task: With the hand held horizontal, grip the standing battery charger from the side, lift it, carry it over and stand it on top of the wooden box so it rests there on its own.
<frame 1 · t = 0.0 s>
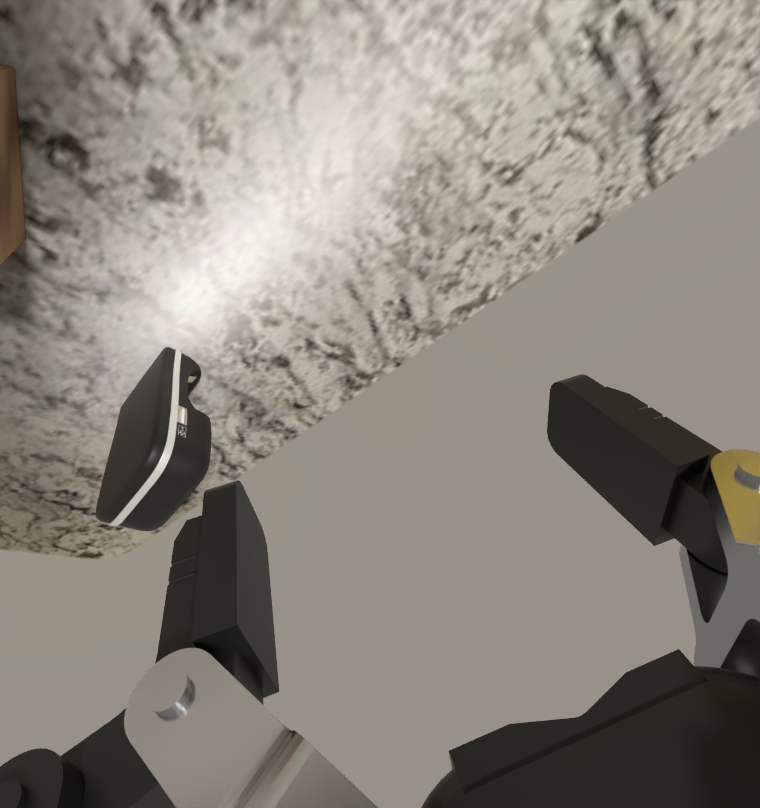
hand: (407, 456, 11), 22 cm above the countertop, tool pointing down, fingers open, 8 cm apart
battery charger: (168, 385, 32), on the countertop
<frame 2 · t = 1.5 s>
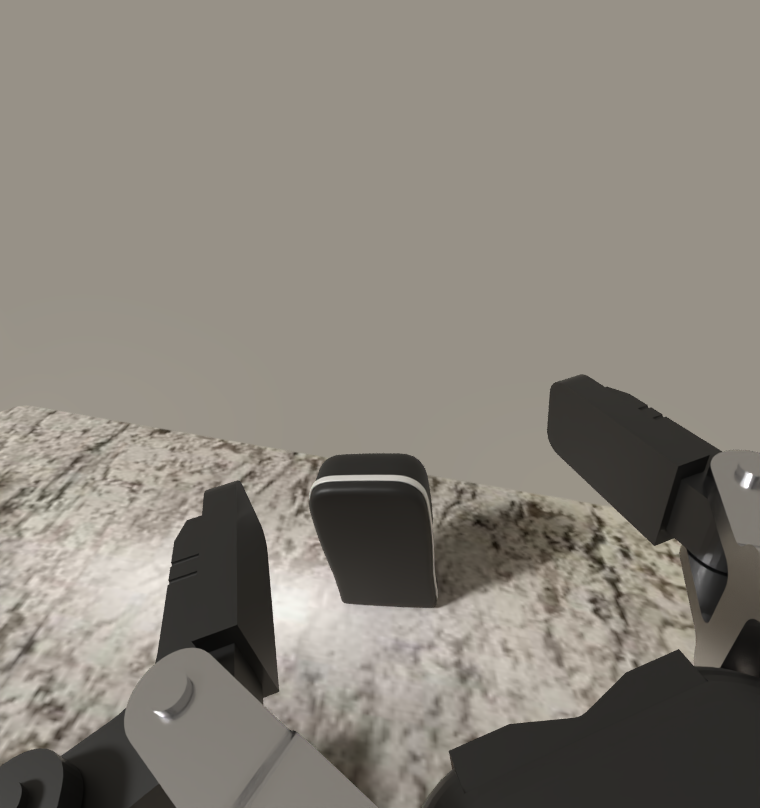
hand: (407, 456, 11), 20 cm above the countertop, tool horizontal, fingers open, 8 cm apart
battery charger: (391, 584, 31), on the countertop
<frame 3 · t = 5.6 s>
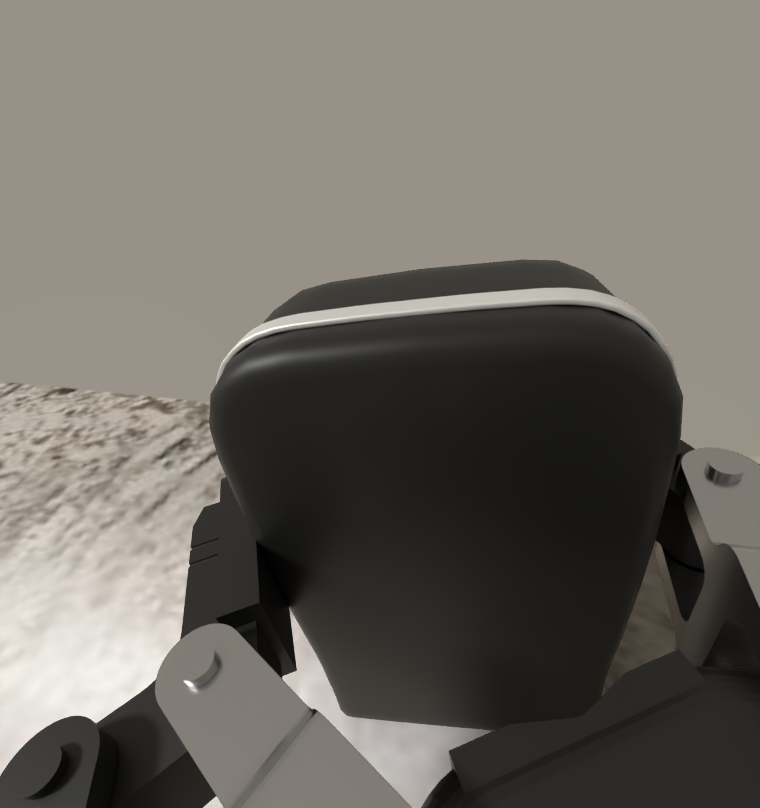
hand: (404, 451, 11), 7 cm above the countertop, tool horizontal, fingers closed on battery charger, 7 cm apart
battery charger: (460, 660, 13), on the countertop, touching gripper
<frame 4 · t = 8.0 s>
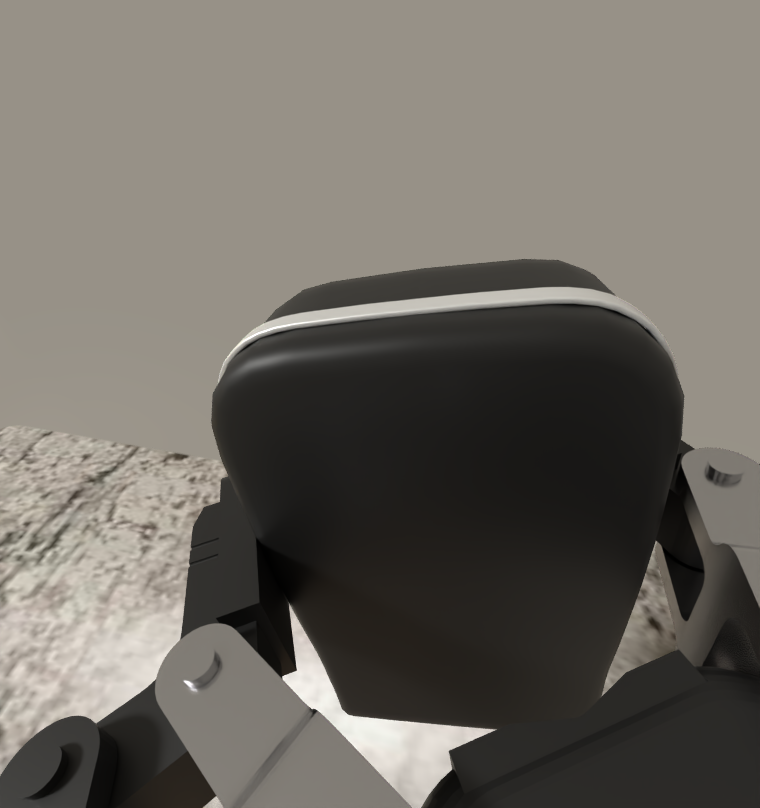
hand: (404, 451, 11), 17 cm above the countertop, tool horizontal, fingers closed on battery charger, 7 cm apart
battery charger: (460, 660, 13), point 11 cm above the countertop, touching gripper
when the fingers open (12 cm above the countertop, at t = 10.4 s): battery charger stays where it is, resting on wooden box.
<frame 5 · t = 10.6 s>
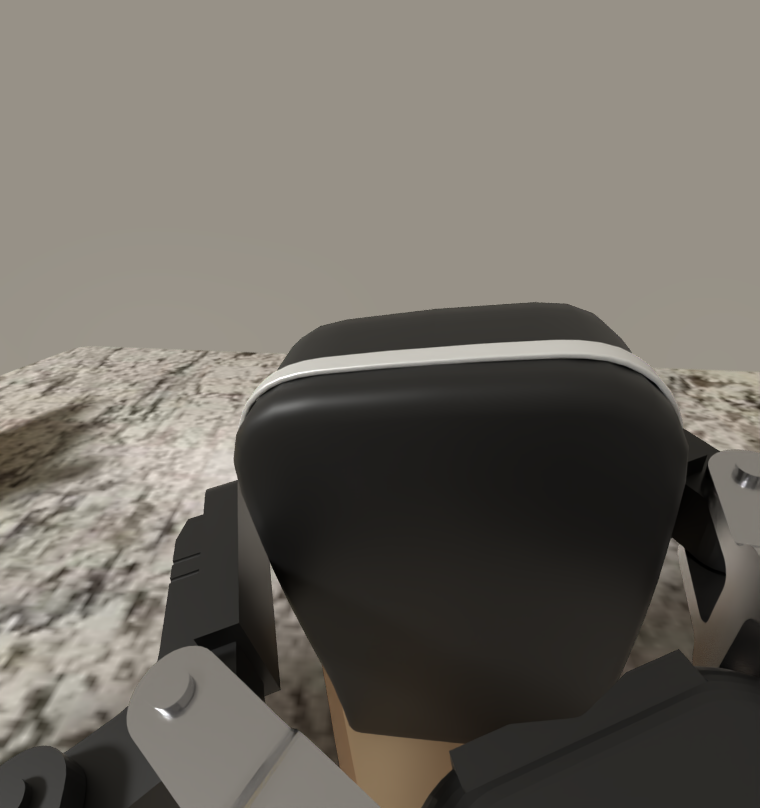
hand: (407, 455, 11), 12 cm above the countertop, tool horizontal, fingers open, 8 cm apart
wooden box: (465, 740, 16), on the countertop
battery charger: (464, 676, 13), point 5 cm above the countertop, touching wooden box
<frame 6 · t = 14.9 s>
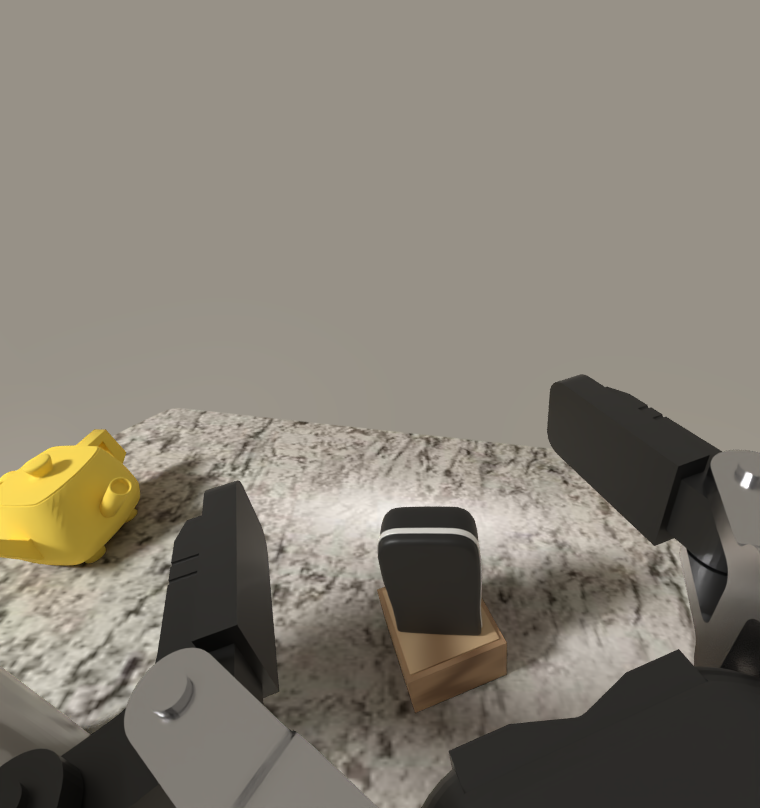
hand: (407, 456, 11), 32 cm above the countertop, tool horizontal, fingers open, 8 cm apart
teapot: (100, 536, 56), on the countertop
wooden box: (441, 645, 38), on the countertop
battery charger: (439, 614, 35), point 5 cm above the countertop, touching wooden box
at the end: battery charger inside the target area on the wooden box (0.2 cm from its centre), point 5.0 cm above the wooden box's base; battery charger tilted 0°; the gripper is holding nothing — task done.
